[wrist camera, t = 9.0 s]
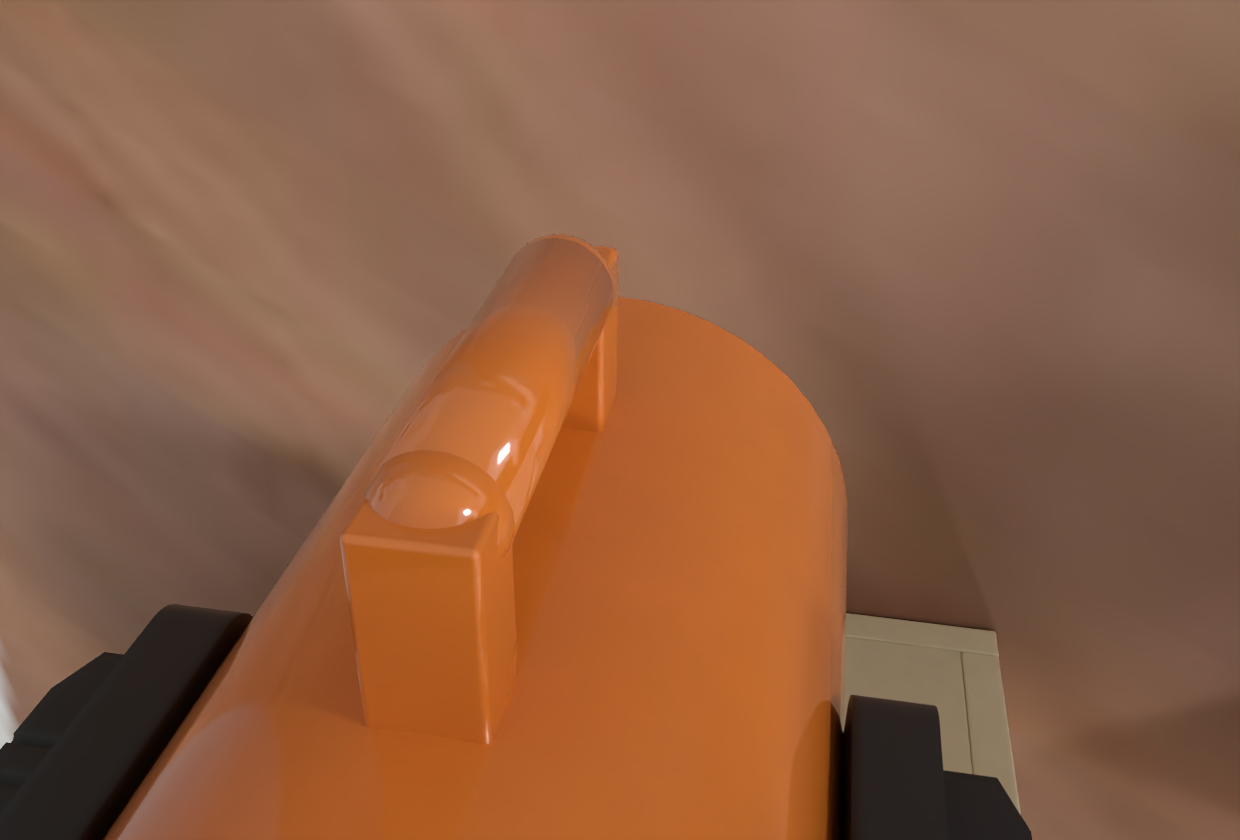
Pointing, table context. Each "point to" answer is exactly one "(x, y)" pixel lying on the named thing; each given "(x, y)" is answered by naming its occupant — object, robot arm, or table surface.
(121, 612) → the table surface
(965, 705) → the cream hinged box
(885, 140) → the table surface
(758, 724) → the cup
